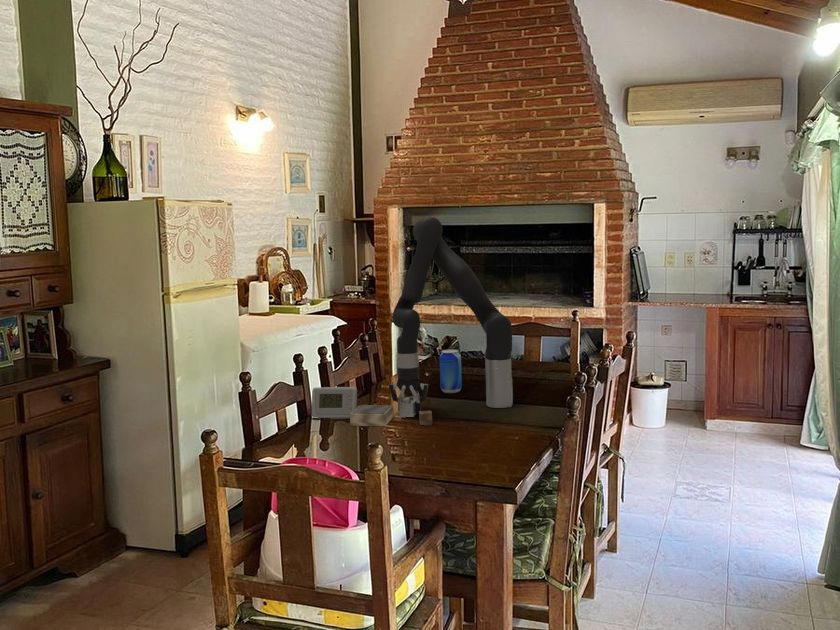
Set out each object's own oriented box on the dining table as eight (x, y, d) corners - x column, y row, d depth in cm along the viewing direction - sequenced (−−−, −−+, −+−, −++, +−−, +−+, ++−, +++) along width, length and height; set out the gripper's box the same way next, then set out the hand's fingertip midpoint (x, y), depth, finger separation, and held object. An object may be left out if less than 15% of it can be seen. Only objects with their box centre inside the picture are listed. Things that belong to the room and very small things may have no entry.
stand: (393, 416, 269) (393, 405, 269) (385, 426, 258) (384, 413, 257) (360, 416, 272) (359, 404, 271) (350, 425, 260) (349, 413, 260)
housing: (420, 411, 276) (419, 395, 275) (413, 417, 267) (412, 401, 267) (406, 410, 277) (406, 395, 277) (399, 417, 269) (398, 401, 268)
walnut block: (431, 422, 261) (430, 410, 261) (432, 425, 257) (431, 413, 257) (419, 422, 261) (419, 411, 261) (420, 425, 257) (419, 414, 257)
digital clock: (309, 419, 270) (307, 389, 269) (320, 413, 279) (318, 384, 277) (351, 422, 265) (350, 391, 264) (362, 415, 274) (360, 385, 272)
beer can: (437, 392, 303) (436, 352, 301) (445, 388, 311) (443, 348, 309) (457, 394, 300) (456, 353, 298) (464, 389, 308) (463, 349, 306)
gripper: (430, 363, 272) (431, 410, 275) (390, 363, 275) (392, 410, 277) (426, 367, 265) (427, 416, 267) (385, 367, 268) (387, 415, 270)
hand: (409, 412), depth 272 cm, fingers closed on housing, 5 cm apart
